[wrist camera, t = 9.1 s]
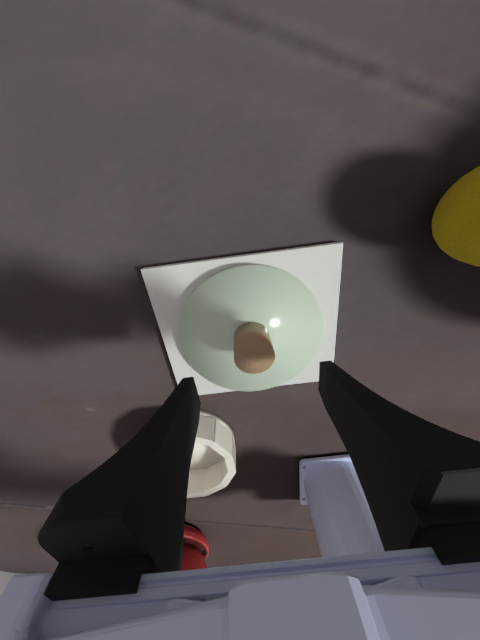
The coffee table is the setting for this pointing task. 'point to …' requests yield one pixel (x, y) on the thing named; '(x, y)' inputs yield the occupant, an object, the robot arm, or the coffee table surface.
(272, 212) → the coffee table surface
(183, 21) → the coffee table surface
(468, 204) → the lemon
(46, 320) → the coffee table surface
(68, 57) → the coffee table surface
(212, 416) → the dish
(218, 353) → the lid
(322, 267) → the mat
